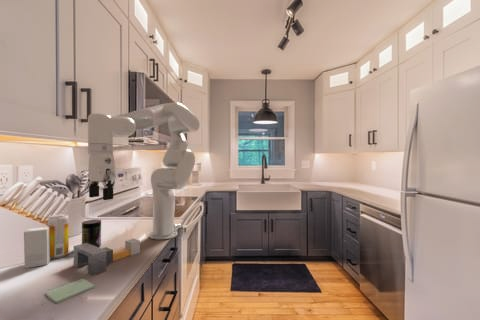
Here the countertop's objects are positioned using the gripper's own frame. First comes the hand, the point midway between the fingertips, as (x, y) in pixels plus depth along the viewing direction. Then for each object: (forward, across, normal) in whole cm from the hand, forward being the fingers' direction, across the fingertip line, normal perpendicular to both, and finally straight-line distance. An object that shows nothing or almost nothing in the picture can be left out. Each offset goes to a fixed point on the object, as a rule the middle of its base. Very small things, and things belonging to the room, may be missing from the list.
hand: (101, 198), depth 83 cm
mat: (+22, -14, +15) cm, 29 cm away
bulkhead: (+22, -3, +5) cm, 23 cm away
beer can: (+22, +17, +7) cm, 29 cm away
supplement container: (+22, +16, -4) cm, 28 cm away
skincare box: (+22, +14, +14) cm, 30 cm away
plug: (+22, -3, -5) cm, 23 cm away
